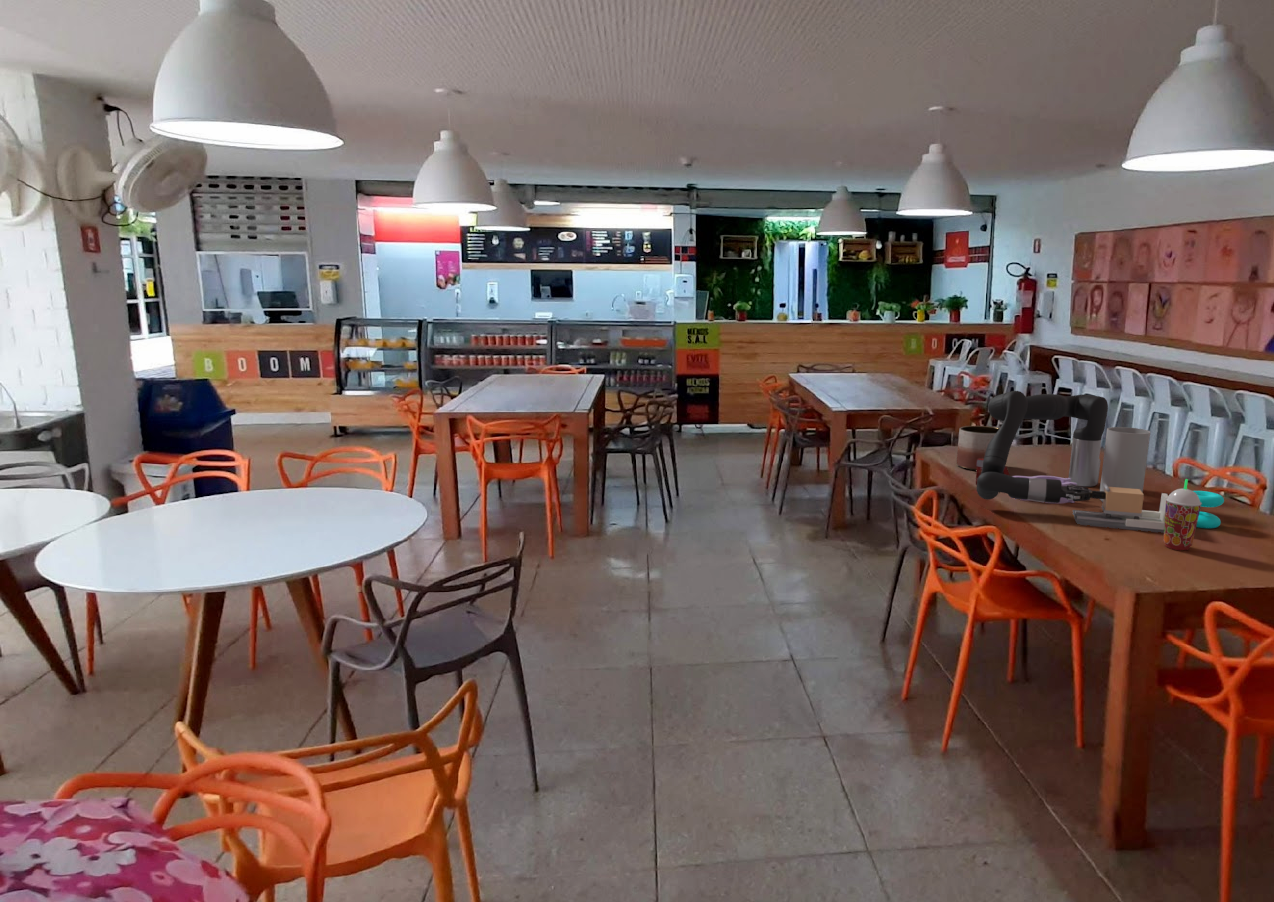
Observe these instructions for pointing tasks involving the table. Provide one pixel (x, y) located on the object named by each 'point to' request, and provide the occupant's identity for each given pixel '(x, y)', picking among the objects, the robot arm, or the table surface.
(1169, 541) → the smoothie
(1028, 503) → the table surface
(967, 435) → the planter
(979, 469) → the toy fire truck
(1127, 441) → the cylinder vase
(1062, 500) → the clip
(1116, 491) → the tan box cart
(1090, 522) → the dock
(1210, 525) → the donuts
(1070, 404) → the robot arm
